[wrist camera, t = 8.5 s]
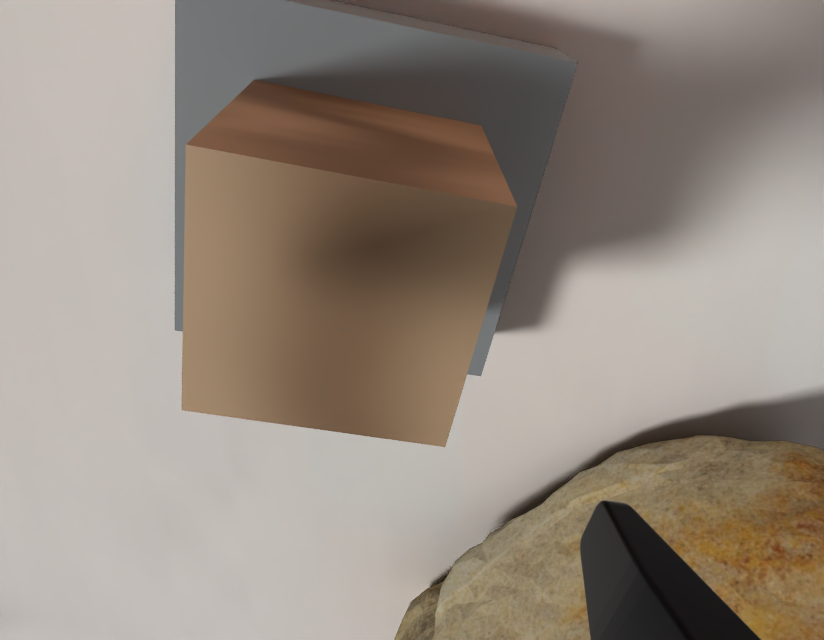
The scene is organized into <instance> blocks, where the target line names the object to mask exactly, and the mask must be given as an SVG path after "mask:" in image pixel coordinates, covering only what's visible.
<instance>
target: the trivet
mask: <svg viewBox="0 0 824 640" xmlns="http://www.w3.org/2000/svg"><path fill="white" fill-rule="evenodd" d="M577 63H578V62H576V61H575V60H573V59H572V58H570V57H569V56H567V55H566V54H564V53H563V52H561V51H560V50H558V49H557V48H553V47H548V46H543V45H539V44H534V43H529V42H525V41H520V40H515V39H511V38H506V37H501V36H497V35H492V34H487V33H483V32H478V31H473V30H469V29H464V28H459V27H454V26H450V25H445V24H440V23H436V22H431V21H426V20H422V19H417V18H412V17H408V16H403V15H398V14H394V13H389V12H384V11H380V10H375V9H370V8H366V7H361V6H356V5H352V4H347V3H342V2H337V1H333V0H175V330H177V331H183V291H184V226H185V160H186V144H187V143H188V142H189V141H190V140H191V139H192V138H193V137H194V136H195V135H196V134H197V133H198V132H199V131H201V130H202V129H203V128H204V127H205V126H206V125H207V124H208V123H209V122H210V121H211V120H212V119H213V118H214V117H215V116H216V115H217V114H218V113H220V112H221V111H222V110H223V109H224V108H225V107H226V106H227V105H228V104H229V103H230V102H231V101H232V100H233V99H234V98H235V97H236V96H238V95H239V94H240V93H241V92H242V91H243V90H244V89H245V88H246V87H247V86H248V85H249V84H250V83H251V82H252V81H253V80H258V81H263V82H268V83H273V84H278V85H283V86H288V87H293V88H298V89H303V90H308V91H313V92H318V93H323V94H328V95H332V96H337V97H342V98H347V99H352V100H357V101H362V102H367V103H372V104H377V105H382V106H387V107H392V108H397V109H402V110H407V111H412V112H417V113H422V114H427V115H432V116H437V117H442V118H447V119H451V120H456V121H461V122H466V123H471V124H476V125H481V126H482V128H483V131H484V133H485V135H486V137H487V140H488V142H489V144H490V146H491V149H492V151H493V153H494V155H495V158H496V160H497V162H498V164H499V167H500V169H501V171H502V173H503V176H504V178H505V180H506V182H507V184H508V187H509V189H510V191H511V193H512V196H513V198H514V200H515V202H516V205H517V210H516V213H515V216H514V220H513V223H512V226H511V230H510V233H509V236H508V240H507V243H506V246H505V250H504V253H503V256H502V260H501V263H500V266H499V270H498V273H497V276H496V280H495V283H494V286H493V289H492V293H491V296H490V299H489V303H488V306H487V309H486V313H485V316H484V319H483V323H482V326H481V329H480V333H479V336H478V339H477V343H476V346H475V349H474V353H473V356H472V359H471V363H470V366H469V369H468V373H467V374H470V375H477V376H481V374H482V371H483V368H484V364H485V361H486V358H487V355H488V352H489V348H490V345H491V342H492V339H493V335H494V332H495V329H496V326H497V322H498V319H499V316H500V313H501V309H502V306H503V303H504V300H505V297H506V293H507V290H508V287H509V284H510V280H511V277H512V274H513V271H514V267H515V264H516V261H517V258H518V254H519V251H520V248H521V245H522V241H523V238H524V235H525V232H526V229H527V225H528V222H529V219H530V216H531V212H532V209H533V206H534V203H535V199H536V196H537V193H538V190H539V186H540V183H541V180H542V177H543V174H544V170H545V167H546V164H547V161H548V157H549V154H550V151H551V148H552V144H553V141H554V138H555V135H556V131H557V128H558V125H559V122H560V119H561V115H562V112H563V109H564V106H565V102H566V99H567V96H568V93H569V89H570V86H571V83H572V80H573V76H574V73H575V70H576V67H577Z"/></svg>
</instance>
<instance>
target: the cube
mask: <svg viewBox="0 0 824 640" xmlns="http://www.w3.org/2000/svg"><path fill="white" fill-rule="evenodd" d="M516 210H517V205H516V202H515V200H514V198H513V196H512V193H511V191H510V189H509V187H508V184H507V182H506V180H505V178H504V176H503V173H502V171H501V169H500V167H499V164H498V162H497V160H496V158H495V155H494V153H493V151H492V149H491V146H490V144H489V142H488V140H487V137H486V135H485V133H484V131H483V128H482V126H481V125H476V124H471V123H466V122H461V121H456V120H451V119H447V118H442V117H437V116H432V115H427V114H422V113H417V112H412V111H407V110H402V109H397V108H392V107H387V106H382V105H377V104H372V103H367V102H362V101H357V100H352V99H347V98H342V97H337V96H332V95H328V94H323V93H318V92H313V91H308V90H303V89H298V88H293V87H288V86H283V85H278V84H273V83H268V82H263V81H258V80H253V81H252V82H251V83H250V84H249V85H248V86H247V87H246V88H245V89H244V90H243V91H242V92H241V93H240V94H239V95H238V96H236V97H235V98H234V99H233V100H232V101H231V102H230V103H229V104H228V105H227V106H226V107H225V108H224V109H223V110H222V111H221V112H220V113H218V114H217V115H216V116H215V117H214V118H213V119H212V120H211V121H210V122H209V123H208V124H207V125H206V126H205V127H204V128H203V129H202V130H201V131H199V132H198V133H197V134H196V135H195V136H194V137H193V138H192V139H191V140H190V141H189V142H188V143H187V144H186V160H185V226H184V291H183V357H182V410H184V411H192V412H199V413H206V414H213V415H220V416H227V417H234V418H242V419H249V420H256V421H263V422H270V423H277V424H285V425H292V426H299V427H306V428H313V429H320V430H327V431H335V432H342V433H349V434H356V435H363V436H370V437H378V438H385V439H392V440H399V441H406V442H413V443H420V444H428V445H435V446H442V447H445V446H446V442H447V439H448V436H449V432H450V429H451V426H452V422H453V419H454V416H455V413H456V409H457V406H458V403H459V399H460V396H461V393H462V389H463V386H464V383H465V379H466V376H467V373H468V369H469V366H470V363H471V359H472V356H473V353H474V349H475V346H476V343H477V339H478V336H479V333H480V329H481V326H482V323H483V319H484V316H485V313H486V309H487V306H488V303H489V299H490V296H491V293H492V289H493V286H494V283H495V280H496V276H497V273H498V270H499V266H500V263H501V260H502V256H503V253H504V250H505V246H506V243H507V240H508V236H509V233H510V230H511V226H512V223H513V220H514V216H515V213H516Z"/></svg>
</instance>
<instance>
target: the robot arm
mask: <svg viewBox="0 0 824 640" xmlns="http://www.w3.org/2000/svg"><path fill="white" fill-rule="evenodd" d="M580 555H581V564H582V572H583V581H584V589H585V598H586V606H587V615H588V623H589V631H590V639H591V640H761V639H760V638H759V637H758V636H757V635H756V634H755V633H754V632H753V631H752V630H751V629H750V628H749V627H748V626H747V625H746V624H745V623H744V622H743V620H742V619H741V618H740V617H739V616H738V615H737V614H736V613H735V612H734V611H733V610H732V609H731V608H730V607H729V606H728V605H727V604H726V603H725V602H724V601H723V600H722V599H721V598H720V597H719V596H718V595H717V594H716V593H715V592H714V591H713V590H712V589H711V588H710V587H709V586H708V585H707V584H706V583H705V582H704V581H703V580H702V579H701V577H700V576H699V575H698V574H697V573H696V572H695V571H694V570H693V569H692V568H691V567H690V566H689V565H688V564H687V563H686V562H685V561H684V560H683V559H682V558H681V557H680V556H679V555H678V554H677V553H676V552H675V551H674V550H673V549H672V548H671V547H670V546H669V545H668V544H667V543H666V542H665V541H664V540H663V539H662V538H661V537H660V535H659V534H658V533H657V532H656V531H655V530H654V529H653V528H652V527H651V526H650V525H649V524H648V523H647V522H646V521H645V520H644V519H643V518H642V517H641V516H640V515H639V514H638V513H637V512H636V511H635V510H634V509H633V508H632V507H631V506H630V505H628V504H626V503H623V502H616V501H608V500H603V501H600V502H599V503H598V504H597V506H596V507H595V509H594V511H593V514H592V516H591V518H590V520H589V522H588V524H587V526H586V528H585V530H584V532H583V534H582V537H581V541H580Z"/></svg>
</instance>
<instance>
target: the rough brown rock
mask: <svg viewBox="0 0 824 640" xmlns="http://www.w3.org/2000/svg"><path fill="white" fill-rule="evenodd" d="M603 500H608V501H616V502H623V503H626V504H628V505H630V506H631V507H632V508H633V509H634V510H635V511H636V512H637V513H638V514H639V515H640V516H641V517H642V518H643V519H644V520H645V521H646V522H647V523H648V524H649V525H650V526H651V527H652V528H653V529H654V530H655V531H656V532H657V533H658V534H659V535H660V537H661V538H662V539H663V540H664V541H665V542H666V543H667V544H668V545H669V546H670V547H671V548H672V549H673V550H674V551H675V552H676V553H677V554H678V555H679V556H680V557H681V558H682V559H683V560H684V561H685V562H686V563H687V564H688V565H689V566H690V567H691V568H692V569H693V570H694V571H695V572H696V573H697V574H698V575H699V576H700V577H701V579H702V580H703V581H704V582H705V583H706V584H707V585H708V586H709V587H710V588H711V589H712V590H713V591H714V592H715V593H716V594H717V595H718V596H719V597H720V598H721V599H722V600H723V601H724V602H725V603H726V604H727V605H728V606H729V607H730V608H731V609H732V610H733V611H734V612H735V613H736V614H737V615H738V616H739V617H740V618H741V619H742V620H743V622H744V623H745V624H746V625H747V626H748V627H749V628H750V629H751V630H752V631H753V632H754V633H755V634H756V635H757V636H758V637H759V638H760V639H761V640H824V452H823V451H822V450H820V449H819V448H816V447H812V446H808V445H803V444H798V443H793V442H788V441H747V440H742V439H737V438H731V437H723V436H710V435H696V436H693V437H690V438H682V439H674V440H667V441H661V442H655V443H649V444H645V445H642V446H638V447H634V448H631V449H627V450H624V451H620V452H617V453H615V454H614V455H612V456H611V457H609V458H608V459H606V460H605V461H604V462H602V463H601V464H599V465H598V466H596V467H593V468H590V469H587V470H585V471H582V472H579V473H578V474H577V475H576V476H575V477H573V478H572V479H571V480H570V481H569V482H567V483H566V484H565V485H563V486H562V487H561V488H559V489H558V490H556V491H555V492H554V493H553V494H552V495H550V496H549V497H548V498H547V499H546V500H545V501H544V502H543V503H542V504H541V505H539V506H537V507H536V508H534V509H532V510H530V511H529V512H527V513H525V514H523V515H521V516H518V517H516V518H514V519H511V520H510V521H509V522H508V523H506V524H505V525H504V526H503V527H501V528H499V529H497V530H496V531H494V532H492V533H491V534H489V535H488V536H487V537H486V539H485V540H484V542H483V543H481V544H479V545H477V546H474V547H472V548H470V549H469V550H468V551H467V552H465V553H464V554H463V555H462V556H461V557H460V558H459V559H457V560H456V561H455V563H454V565H453V567H452V569H451V571H450V572H449V574H448V575H447V577H446V578H445V580H444V582H442V583H440V584H438V585H434V586H432V587H430V588H428V589H426V590H425V591H424V592H422V593H421V594H420V595H419V596H418V597H416V598H415V599H414V600H413V601H412V602H411V603H410V605H409V607H408V609H407V611H406V613H405V615H404V617H403V620H402V622H401V624H400V627H399V629H398V632H397V634H396V637H395V640H591V639H590V631H589V623H588V615H587V606H586V598H585V589H584V581H583V572H582V564H581V555H580V541H581V537H582V534H583V532H584V530H585V528H586V526H587V524H588V522H589V520H590V518H591V516H592V514H593V511H594V509H595V507H596V506H597V504H598V503H599V502H600V501H603Z"/></svg>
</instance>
